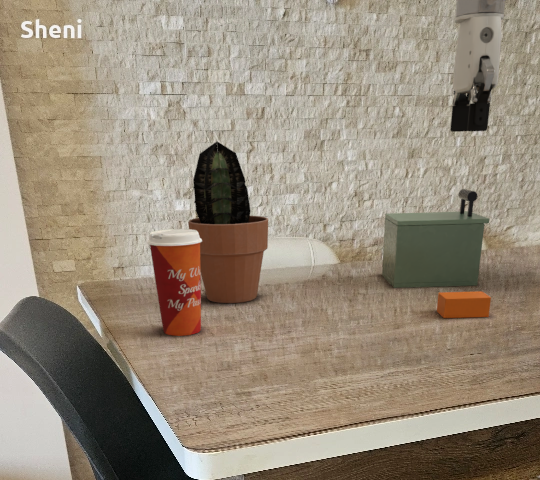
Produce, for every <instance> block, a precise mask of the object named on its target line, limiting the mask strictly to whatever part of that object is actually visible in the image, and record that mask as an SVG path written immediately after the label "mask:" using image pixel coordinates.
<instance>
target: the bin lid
mask: <svg viewBox="0 0 540 480" xmlns="http://www.w3.org/2000/svg"><path fill="white" fill-rule="evenodd" d="M458 198H459V199H460V207H459V211H437V212H435V211H432V212H428V211H427V212H399V213H398V212H397V213H395V212H392V213H384V219H385V218H386V219H388V220H389V221H391V222H393V223H394V224H396V225H397V226H409V225H445V224H482V223H484V224H490V218H489V217H486V216H484V215H480V214H477V213H475V212H473V210H474V203H475V202H476V201H477V199H478V193H477V191H474V190H470V189H467V188H461V189H460V190H459V192H458ZM466 201H467V202H468V206H467V211H465V210H466Z"/></svg>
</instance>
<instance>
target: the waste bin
mask: <svg viewBox="0 0 540 480" xmlns="http://www.w3.org/2000/svg"><path fill="white" fill-rule="evenodd" d="M485 225H486V223H482V224H445V225H409V226H397V225H396V224H394V223H393V222H391V221H389V220H388V219H386V218H385V217H384V231H383V248H382V268H381V276H382V277H383V278H384V279H385V280H386V281H387V282H388V284H389V285H390V286H392V288H393V289H402V288H403V289H404V288H437V287H443V288H444V287H473V286H475V287H476V286H478V282H479V275H480V266H481V258H482V257H481V256H482V248H483V240H484V231H485Z"/></svg>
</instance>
